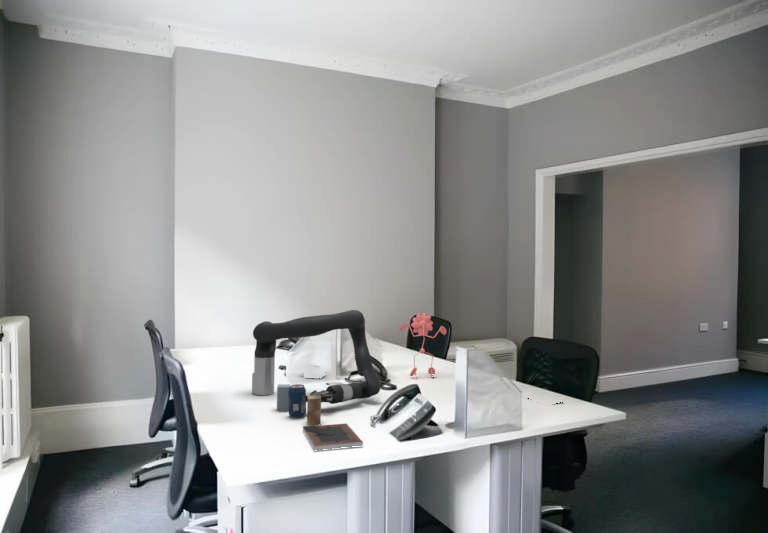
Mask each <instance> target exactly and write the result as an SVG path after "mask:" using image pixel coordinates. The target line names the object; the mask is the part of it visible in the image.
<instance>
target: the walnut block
mask: <svg viewBox="0 0 768 533" xmlns="http://www.w3.org/2000/svg"><path fill="white" fill-rule="evenodd" d="M307 396H308V395H307ZM321 410H322V402H321V395H315V396H308V402H306V426H320V425H321V420H322V414H321V413H322V412H321ZM319 424H320V425H319Z"/></svg>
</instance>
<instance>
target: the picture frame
mask: <svg viewBox="0 0 768 533" xmlns="http://www.w3.org/2000/svg"><path fill="white" fill-rule="evenodd" d="M302 432H303V434H304V433H305V434H304V436H305V435H306V436H305V437H307V438H306V439H307V441H308V440H309V441H308V443H309V442H310V443H309V445H310V444H311V445H312V446H311V445H310V446H311V448H312V447H313V448H312V449H314V450H323V449H332V448H341V447H352V446H362V445H363V446H364V441H363V440H362V439H361V438H360V437H359V436H358V435H357V433H356V432H355V431H354V430H353V429H352V428H351V426H350V425H349V424H348V423H338V424H337V423H336V424H335V423H333V424H324V425H321V424H320V425H305V426H302ZM314 450H313V451H314Z"/></svg>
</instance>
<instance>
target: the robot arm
mask: <svg viewBox="0 0 768 533" xmlns="http://www.w3.org/2000/svg"><path fill="white" fill-rule="evenodd" d="M365 324H366V319H365V317H364V315H363V313H362V312H361V311H360V310H357V309H351V310H346V311H342V312H337V313H333V314H322V315H321V314H319V315H310V316H304V317H298V318H293V319H290V320H287V321H283V322H271V321H262V322H260V323H258V324H257V325H256V326H254V329H253V331H252V335H253V336H252V337H253V339H254V340H256V343H255V350H254V359H253V361H254V362H253V364H254V365H253V368H254V370H253V371H254V372H252V373H251V382H252V383H251V394H254V395H255V396H270V394H271V395H274V394H275V370H276V369H275V363H276V362H275V361H276V360H275V358H276V357H275V355H276V349H277V341H278V340H282V339H296V338H308V337H310V338H311V337H316V336H321V335H323V334H324V335H325V334H326V333H329V332H331V331H335V330H346V329H347V330H348V332H349V334H350V337H351V340H352V343H353V345H352V346H353V350H354V359H355V365H356V370H357V374H358V375H359V376H360V377H363V378H364V379H365V381H363V382H359V383H358V382H351V383H340V384H333V385H329V386H328V387H326V389H322V390H320V391H317V390H316V389H315V390H312V391H311V392H309V395H306V403H308V396H315V395H321V403H329V404H331V405H333V404H339V403H346V402H348V401H352V400H353V401H354V400H361V399H368V398H371V397H373V396H376V395H378V394H379V393H380V391H381V382H380V380H379V377H378V375H377V374H376V372H375V370H374V368H373V367H374V365H373V362H372V361H373V360H372V358H371V354H370V350H369V347H368V343H367V337H366V325H365Z"/></svg>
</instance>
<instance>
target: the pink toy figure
mask: <svg viewBox="0 0 768 533" xmlns="http://www.w3.org/2000/svg"><path fill="white" fill-rule="evenodd" d="M431 319H432V316H431V315H429V314H427V315H426V313H425V312H423V313H420V312H418V313H417V314H416V316H415V317H413V318H412V323H411V324H410V322H406V323H403V325H402V326H401V327H400V328H399V330H398V332H399V333H401V332H403V331H404V330H406V328H407V327H409V330H410V331H411V334H412V337H414V338H415V337H423V341H422V345H421V348H419V349H420V350H419V352H417V353H416V354H415V355H414V356H413V362H414V363H413V367H414V368H413V369H412V370H411V371H410V373H409V374H410V375H409V376H412V377H413V376H415V377H416V378H417V371H418V368H417V367H416V365H415V364H416V363H415V362H416V360H415V357H416V356H417V355H418V354H419V353H421V354H425V353H426V354H428V355H429V356H431V361H433V358H434V356H433V354H431V353H429V352H426V350H425V348H424V344H425V337H428V338H431V339H434V338H436V336H437V335H438V334H439V332H440V333H441V334H442V335H443V336H445V335H446V334H447V328H445V326H443V325H441V326H440V327H439V329H438V331H437V332H436V333H435V334H434V336H431V335H428V334H429V331H430V332H431V331H433V326H432V325H433V324H434V322H433V321H432V320H431ZM411 327H412V328H413V329H412V328H411ZM414 333H415V334H416V333H417V334H416V335H414ZM430 365H431V366H430V367H428V370H427V372H428V375H429V374H431V375H432V374H434V375H435V374H436V369H435V368H434V367H433V362H431V364H430ZM431 375H430V376H431ZM434 375H432V376H433V377H434ZM432 376H431V377H432Z"/></svg>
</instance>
